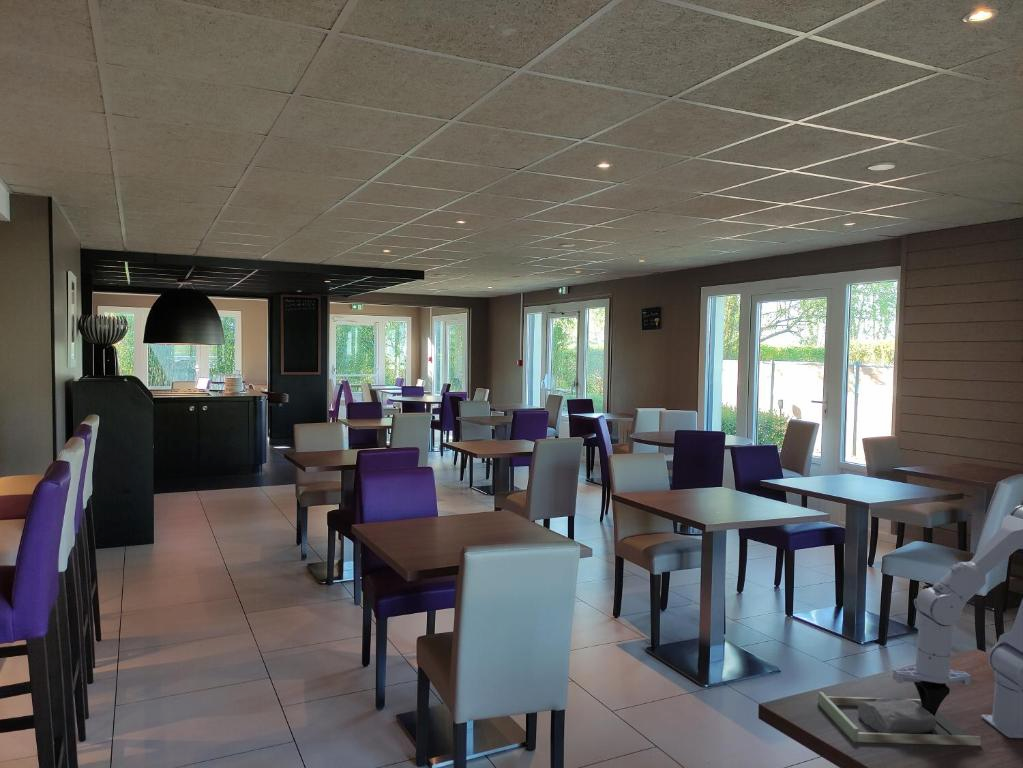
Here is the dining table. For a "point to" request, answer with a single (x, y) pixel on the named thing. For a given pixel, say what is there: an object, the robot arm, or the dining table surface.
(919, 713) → the stone block
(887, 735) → the grey cream flat frame
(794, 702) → the dining table surface
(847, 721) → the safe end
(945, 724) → the tiles
